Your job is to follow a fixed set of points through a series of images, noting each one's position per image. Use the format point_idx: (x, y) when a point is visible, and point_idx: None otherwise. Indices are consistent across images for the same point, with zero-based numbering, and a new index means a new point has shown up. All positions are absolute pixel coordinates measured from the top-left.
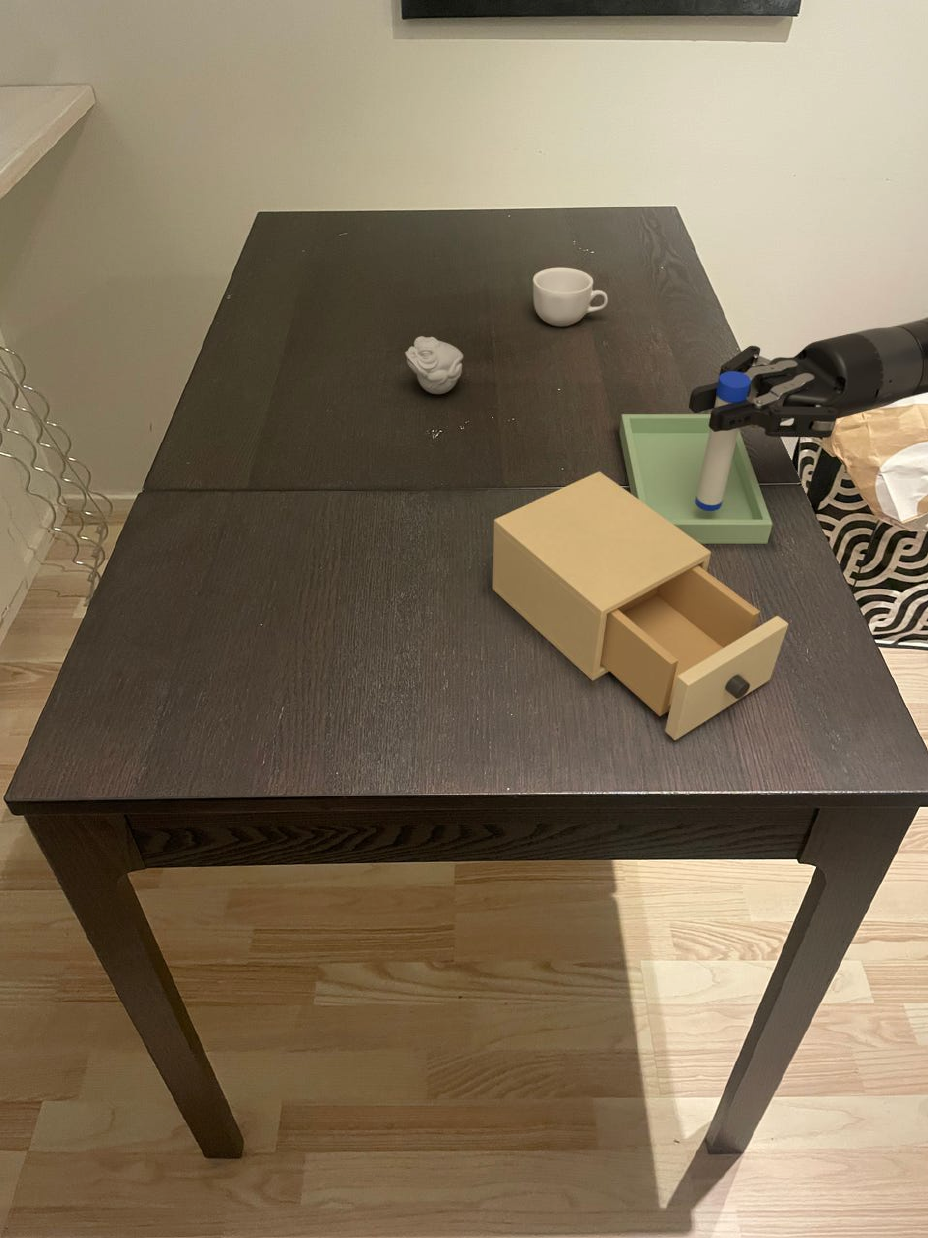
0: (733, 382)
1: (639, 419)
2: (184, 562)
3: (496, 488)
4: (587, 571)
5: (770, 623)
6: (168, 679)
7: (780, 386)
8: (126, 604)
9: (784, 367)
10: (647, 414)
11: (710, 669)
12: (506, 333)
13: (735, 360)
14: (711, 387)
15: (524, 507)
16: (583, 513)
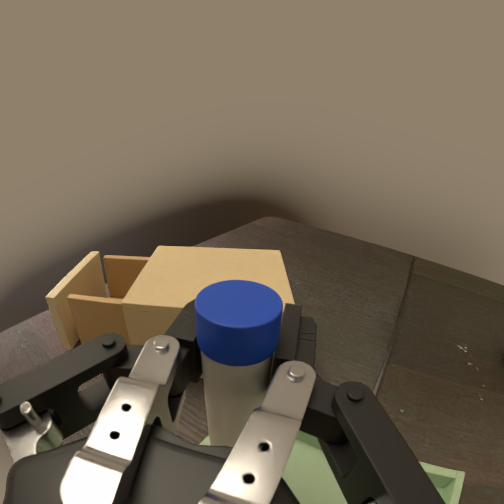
0: (229, 290)
1: (451, 491)
2: (361, 249)
3: (387, 356)
4: (190, 254)
5: (57, 291)
6: (293, 234)
7: (141, 403)
8: (341, 237)
9: (205, 501)
10: (457, 501)
11: (83, 259)
12: None
13: (385, 437)
14: (288, 325)
15: (281, 262)
16: (245, 277)
